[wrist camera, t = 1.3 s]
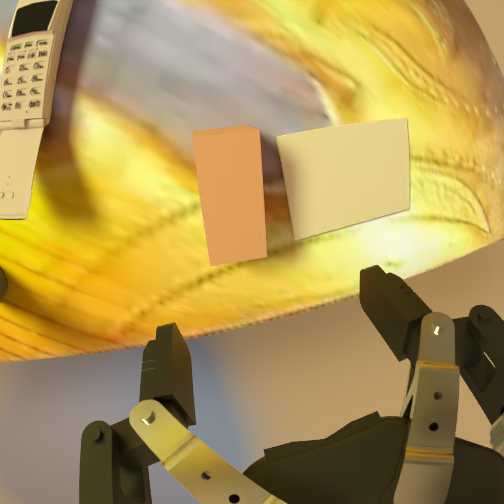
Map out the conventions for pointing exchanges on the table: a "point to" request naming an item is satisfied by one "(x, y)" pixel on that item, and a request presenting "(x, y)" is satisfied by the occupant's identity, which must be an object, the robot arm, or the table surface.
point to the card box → (231, 193)
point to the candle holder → (3, 285)
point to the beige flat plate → (345, 174)
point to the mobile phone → (27, 96)
